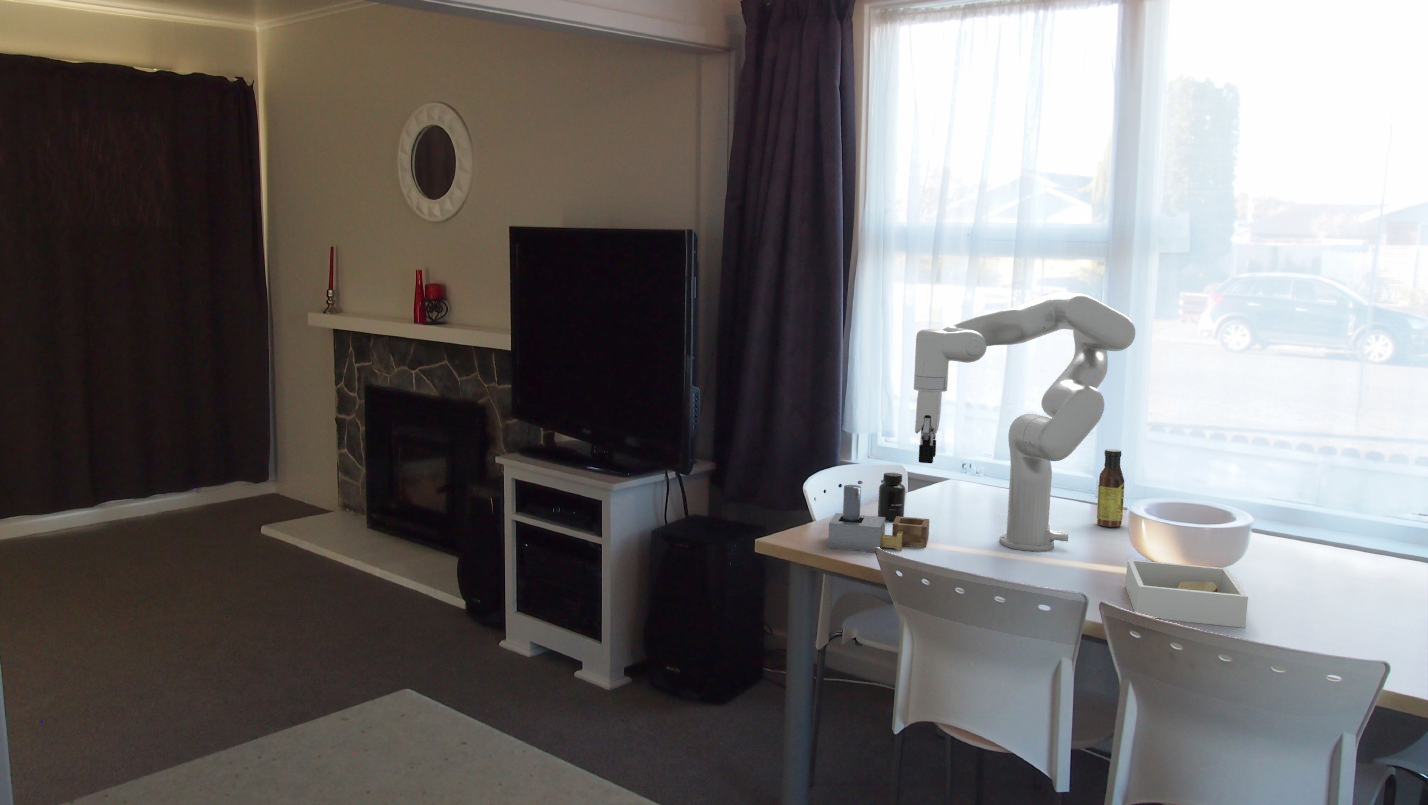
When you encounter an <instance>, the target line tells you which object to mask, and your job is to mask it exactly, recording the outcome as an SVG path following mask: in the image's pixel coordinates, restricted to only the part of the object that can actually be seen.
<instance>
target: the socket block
mask: <svg viewBox="0 0 1428 805" xmlns="http://www.w3.org/2000/svg"><path fill="white" fill-rule="evenodd" d="M882 535H886V521H885V517H878V516H875V515H865V514H864V515H862V514H860V523H852V522H843V513H838V512H835V514H834V516H833V517H832V518H831V519H830V521H829V522H828V540H827V541H828V546H827V547H828V548H829V549H838V550H847V551H849V550H850V551H857V552H858V551H860V552H870V553H876V552H875V547H880V548H881V549H882V547H881V541H882Z"/></svg>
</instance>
